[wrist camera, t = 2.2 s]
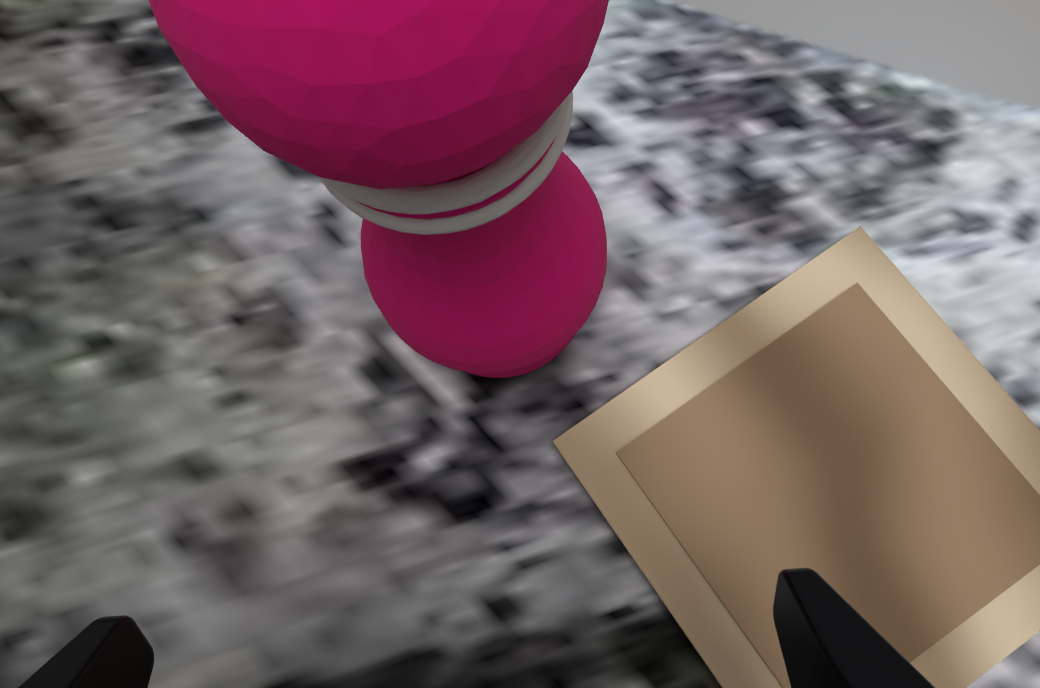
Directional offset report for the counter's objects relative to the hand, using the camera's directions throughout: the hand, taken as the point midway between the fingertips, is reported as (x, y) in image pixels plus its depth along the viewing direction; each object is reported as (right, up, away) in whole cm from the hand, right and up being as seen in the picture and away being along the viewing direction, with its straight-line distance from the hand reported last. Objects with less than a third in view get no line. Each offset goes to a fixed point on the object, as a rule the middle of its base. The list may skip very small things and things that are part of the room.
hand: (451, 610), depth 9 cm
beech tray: (+11, -1, +13) cm, 17 cm away
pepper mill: (0, +6, +15) cm, 16 cm away
